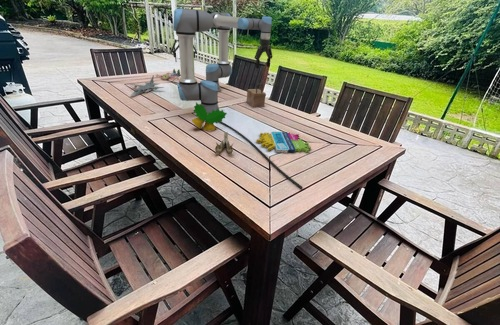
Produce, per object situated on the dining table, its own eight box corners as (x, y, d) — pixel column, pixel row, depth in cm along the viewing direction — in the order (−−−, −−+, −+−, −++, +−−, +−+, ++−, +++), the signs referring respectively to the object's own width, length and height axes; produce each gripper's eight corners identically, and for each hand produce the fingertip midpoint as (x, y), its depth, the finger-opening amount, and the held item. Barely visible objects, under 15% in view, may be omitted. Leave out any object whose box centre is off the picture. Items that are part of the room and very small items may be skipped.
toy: (188, 70, 290) (175, 74, 264) (188, 76, 294) (176, 81, 268) (165, 67, 295) (150, 71, 269) (166, 74, 299) (151, 78, 273)
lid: (265, 95, 207) (266, 84, 203) (254, 95, 203) (255, 84, 199) (258, 90, 219) (259, 79, 215) (247, 90, 215) (247, 80, 211)
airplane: (124, 87, 237) (122, 75, 232) (159, 84, 250) (158, 74, 245) (128, 99, 208) (126, 87, 203) (168, 96, 222) (167, 84, 217)
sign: (313, 150, 142) (258, 149, 139) (312, 153, 143) (258, 152, 140) (301, 132, 164) (254, 130, 161) (301, 134, 165) (254, 133, 162)
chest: (264, 106, 212) (265, 94, 208) (253, 107, 209) (253, 95, 204) (257, 101, 224) (258, 90, 219) (246, 102, 220) (247, 90, 215)
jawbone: (234, 135, 144) (233, 125, 135) (233, 160, 138) (232, 151, 129) (217, 135, 144) (216, 125, 135) (216, 160, 138) (214, 150, 129)
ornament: (218, 133, 171) (224, 110, 169) (221, 134, 163) (227, 111, 161) (186, 125, 162) (192, 101, 160) (189, 126, 155) (195, 101, 153)
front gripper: (199, 33, 207) (199, 61, 217) (166, 31, 201) (168, 60, 211) (199, 34, 201) (200, 63, 211) (166, 32, 194) (168, 62, 205)
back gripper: (258, 39, 194) (256, 69, 205) (278, 39, 211) (275, 66, 221) (251, 38, 199) (249, 67, 209) (271, 38, 215) (268, 65, 226)
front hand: (184, 62), depth 211 cm, fingers open, 13 cm apart
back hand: (262, 67), depth 215 cm, fingers open, 13 cm apart
